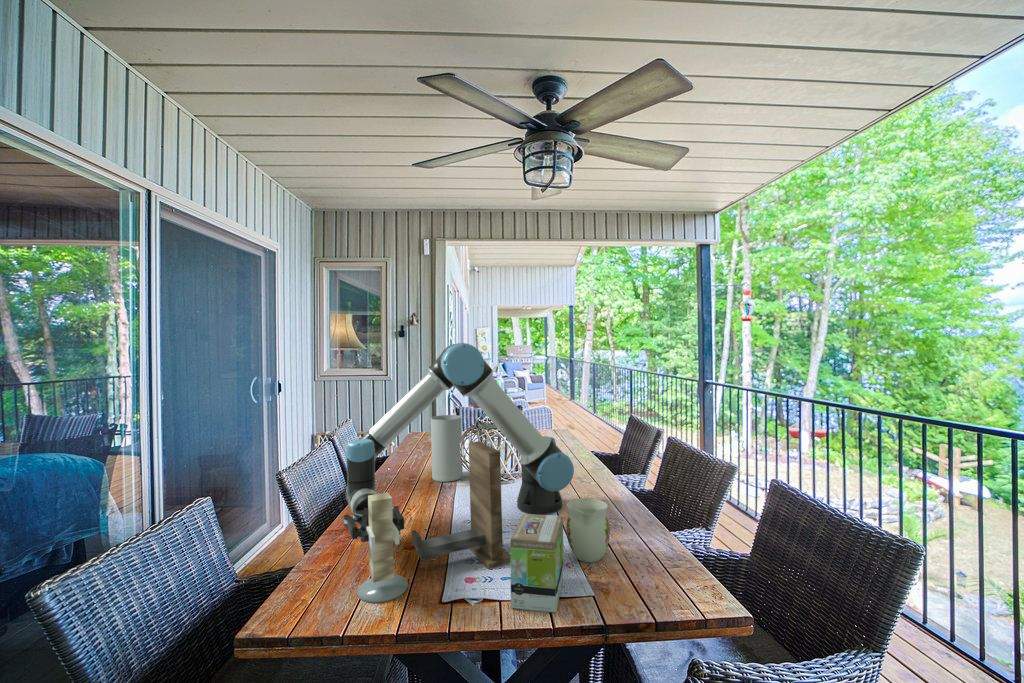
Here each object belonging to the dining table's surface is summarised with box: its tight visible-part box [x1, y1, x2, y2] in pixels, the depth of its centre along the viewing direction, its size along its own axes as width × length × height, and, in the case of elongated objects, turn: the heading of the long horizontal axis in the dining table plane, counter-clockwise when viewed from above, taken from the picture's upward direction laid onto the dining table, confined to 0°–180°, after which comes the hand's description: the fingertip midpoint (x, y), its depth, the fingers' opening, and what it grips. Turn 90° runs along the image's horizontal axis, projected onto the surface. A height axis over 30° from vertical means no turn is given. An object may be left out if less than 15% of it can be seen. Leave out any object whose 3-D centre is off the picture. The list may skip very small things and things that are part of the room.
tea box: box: [510, 513, 564, 613], centre depth 102 cm, size 15×10×15 cm, turn 168°
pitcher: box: [565, 497, 611, 563], centre depth 119 cm, size 11×18×14 cm, turn 174°
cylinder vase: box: [430, 414, 464, 483], centre depth 190 cm, size 12×12×25 cm
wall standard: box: [411, 441, 511, 570], centre depth 118 cm, size 23×16×28 cm
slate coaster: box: [357, 574, 409, 604], centre depth 105 cm, size 11×11×1 cm
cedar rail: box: [368, 491, 395, 583], centre depth 105 cm, size 4×4×18 cm
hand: (385, 540), depth 100 cm, fingers closed on cedar rail, 4 cm apart
